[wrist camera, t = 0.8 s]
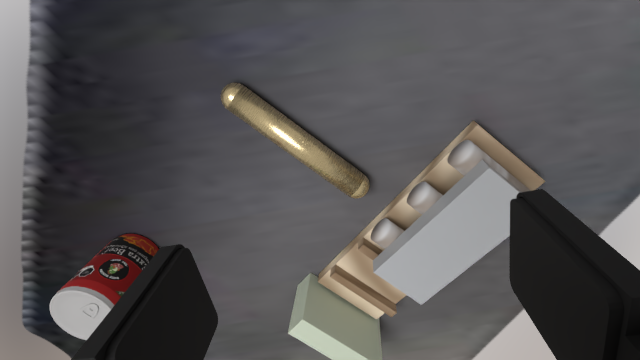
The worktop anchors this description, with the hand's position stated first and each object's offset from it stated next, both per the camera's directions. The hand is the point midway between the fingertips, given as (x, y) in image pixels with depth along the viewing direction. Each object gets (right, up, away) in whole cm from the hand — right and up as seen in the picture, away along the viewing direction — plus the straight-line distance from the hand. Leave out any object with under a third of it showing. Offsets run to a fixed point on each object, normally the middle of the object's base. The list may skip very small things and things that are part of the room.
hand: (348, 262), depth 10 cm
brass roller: (-3, +7, +29) cm, 30 cm away
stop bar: (+2, -14, +39) cm, 42 cm away
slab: (+13, -3, +27) cm, 30 cm away
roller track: (+11, -4, +33) cm, 35 cm away
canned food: (-26, -8, +39) cm, 48 cm away
